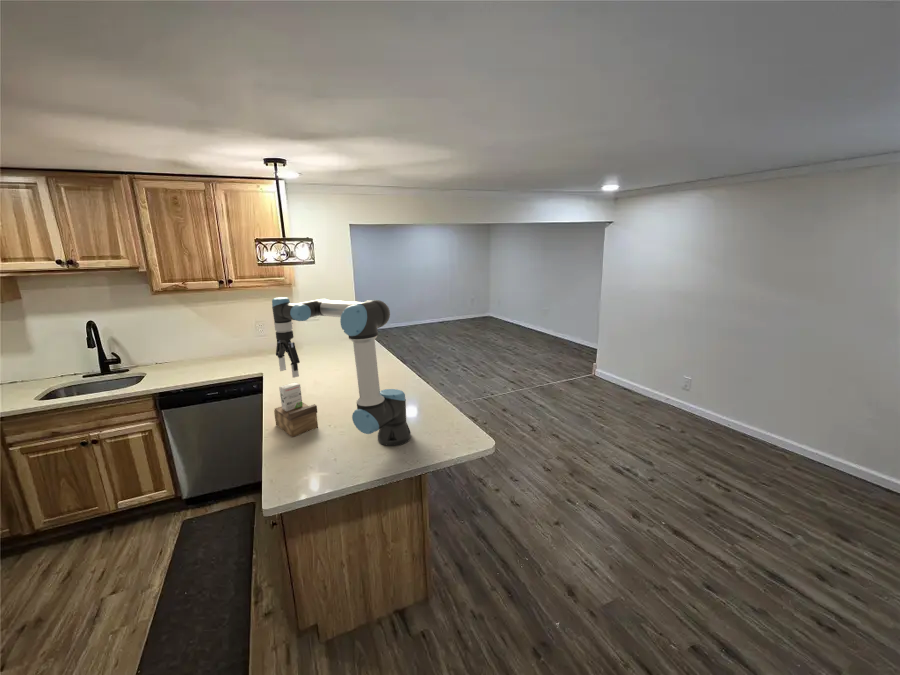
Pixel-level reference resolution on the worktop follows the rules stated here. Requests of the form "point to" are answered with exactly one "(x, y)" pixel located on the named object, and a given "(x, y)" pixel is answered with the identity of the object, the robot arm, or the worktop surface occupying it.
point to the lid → (298, 412)
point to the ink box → (290, 396)
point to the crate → (296, 424)
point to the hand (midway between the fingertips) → (289, 373)
